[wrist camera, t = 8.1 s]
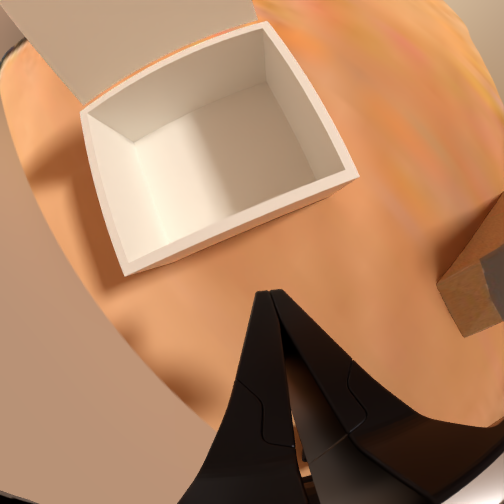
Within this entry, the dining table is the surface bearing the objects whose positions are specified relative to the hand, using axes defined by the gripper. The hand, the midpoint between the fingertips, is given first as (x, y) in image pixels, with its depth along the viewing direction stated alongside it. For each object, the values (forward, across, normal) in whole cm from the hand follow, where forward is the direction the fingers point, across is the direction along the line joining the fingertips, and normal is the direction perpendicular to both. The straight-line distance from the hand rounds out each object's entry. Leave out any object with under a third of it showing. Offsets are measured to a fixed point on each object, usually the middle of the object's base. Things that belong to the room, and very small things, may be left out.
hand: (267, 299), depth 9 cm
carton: (+16, +1, 0) cm, 16 cm away
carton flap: (+10, +6, -13) cm, 18 cm away
